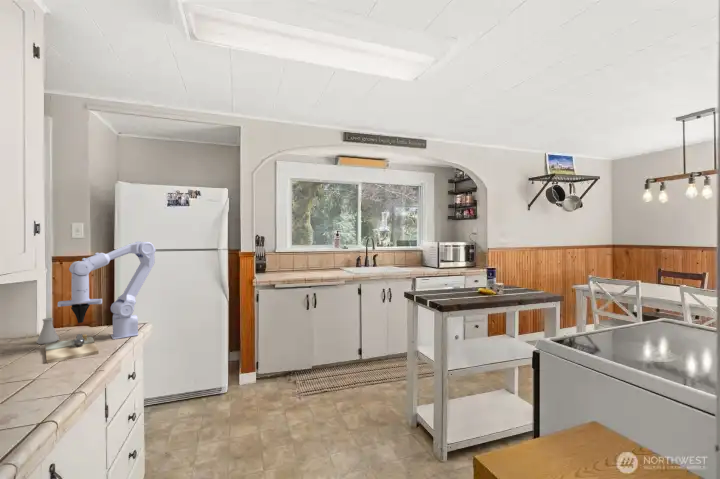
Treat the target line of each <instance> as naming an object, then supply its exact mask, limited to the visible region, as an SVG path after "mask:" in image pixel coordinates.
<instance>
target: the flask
mask: <svg viewBox="0 0 720 479" xmlns="http://www.w3.org/2000/svg"><path fill="white" fill-rule="evenodd" d="M53 320H54V318H53V317H48V318H47V317H46V318H42V321H43V322H42V323H43V324H42V327H41V331H40V334H39V335H38V337H37V339H36V341H35V343H36V344H37V343H38V345H42V344H44V345H45V344H48V343H55V342H59V340H60V337H59V335H58V334H57V332H56V330H55V328H54V325H53Z"/></svg>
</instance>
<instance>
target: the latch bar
mask: <svg viewBox="0 0 720 479" xmlns="http://www.w3.org/2000/svg"><path fill="white" fill-rule="evenodd" d="M82 338H83V333H78V334H76V338H75V339H76V340H74V339H73V340H74V345H81V344H84V339H82Z"/></svg>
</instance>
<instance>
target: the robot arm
mask: <svg viewBox="0 0 720 479" xmlns="http://www.w3.org/2000/svg"><path fill="white" fill-rule="evenodd" d="M156 251H157V249H156V248H155V245H154V244H153V243H152V242H150V241H138V240H137V241H135V242H132V243H129V244H126V245H124V246H121V247H119V248H117V249H114V250H111V251H109V252H107V253H104V252H95V253H94V255H91V256H88V257H86V258H85V257H83V258H82V259H81V260H78V261H73V262H72V263H71V264H70V266H69V268H68V271H69V273H71V299H70V300H69V299H68V300H60V301H58V302H57V307H58V308H59V307H70V306H71V307H70V309H71V311H72V312H73V314H74V315H75V318H76V321H77V323H78V324H82V323H83V322H84V321H85V316H86V313H87V311H88V309H89V308H90V305H102V304H103V298H90V276H89V274H90V273H91V272H93V271H96V270H98V269H100V268H102V267H103V268H104V267H105V266H107V265H109V264H110V261H111V260H115V259H117V258H121V257H123V256H126V255H128V254H135V256H137V258H138V261H139V262H140V263H139V265H138V266H137V269H136V270H135V271H134V274H133V276H132V277H131V279H130V281H129V282H128V284H127V286H126V288H125V290H124V291H123V292H122V294H121V295H120V296H118V298H117V299H116V300H115V301H114V302H113V303H111V306H110V312H111V313H112V333H111V334H110V336H111V338H112V340H117V339H118V340H119V339H123V338H124V339H125V338H129V337H136V336H139V320H138V314H133V313H134V312H135V305H136V303H137V300H136V297H137V295H138V294H139V292H140V290H141V289H142V287H143V285H144V283H145V282H146V280H147V278H148V276H149V274H150V272H151V270H152V268H153V267H154V265H155V263H156V262H155V260H156V259H155V258H156V256H155V254H156Z"/></svg>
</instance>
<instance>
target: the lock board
mask: <svg viewBox="0 0 720 479" xmlns="http://www.w3.org/2000/svg"><path fill="white" fill-rule="evenodd" d="M76 339H77V338H74V339H69V340H63V341H56V342H52V343H47V344H44V347H45V357H46V358H45V360H46V364H50V363H56V362H61V361H67V360H72V359H78V358H83V357H89V356H93V355H99V349H98V347H97V345H96V342H95V340H94V337H93V336H88V335H87V334H82V339H84V344H81V345H74V340H76Z"/></svg>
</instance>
